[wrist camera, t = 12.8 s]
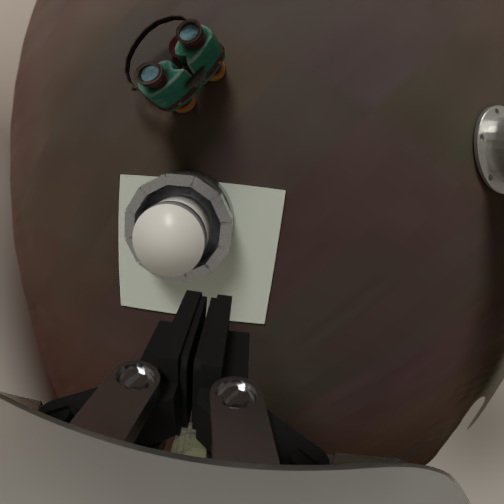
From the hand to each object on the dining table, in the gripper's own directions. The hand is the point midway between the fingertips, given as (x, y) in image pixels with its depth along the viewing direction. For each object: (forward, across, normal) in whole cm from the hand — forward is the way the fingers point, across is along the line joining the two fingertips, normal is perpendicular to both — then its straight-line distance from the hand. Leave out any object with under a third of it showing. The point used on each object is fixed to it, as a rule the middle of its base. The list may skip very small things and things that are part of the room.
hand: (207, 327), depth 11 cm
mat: (+22, +4, +5) cm, 24 cm away
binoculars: (+23, +8, -14) cm, 28 cm away
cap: (+18, +5, +1) cm, 19 cm away
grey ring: (+22, +5, +1) cm, 23 cm away
